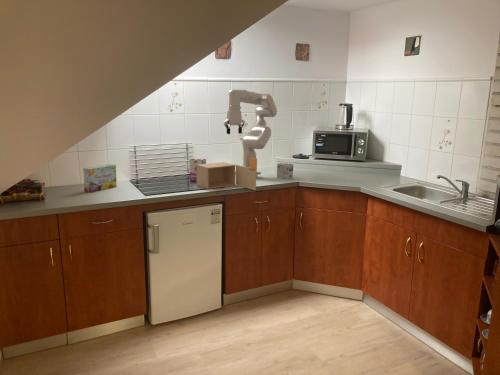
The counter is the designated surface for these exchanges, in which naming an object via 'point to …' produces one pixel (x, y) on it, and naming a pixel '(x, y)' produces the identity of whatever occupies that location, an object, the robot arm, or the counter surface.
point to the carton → (215, 175)
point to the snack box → (99, 177)
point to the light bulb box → (285, 170)
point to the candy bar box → (195, 167)
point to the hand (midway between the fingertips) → (234, 133)
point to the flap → (247, 174)
